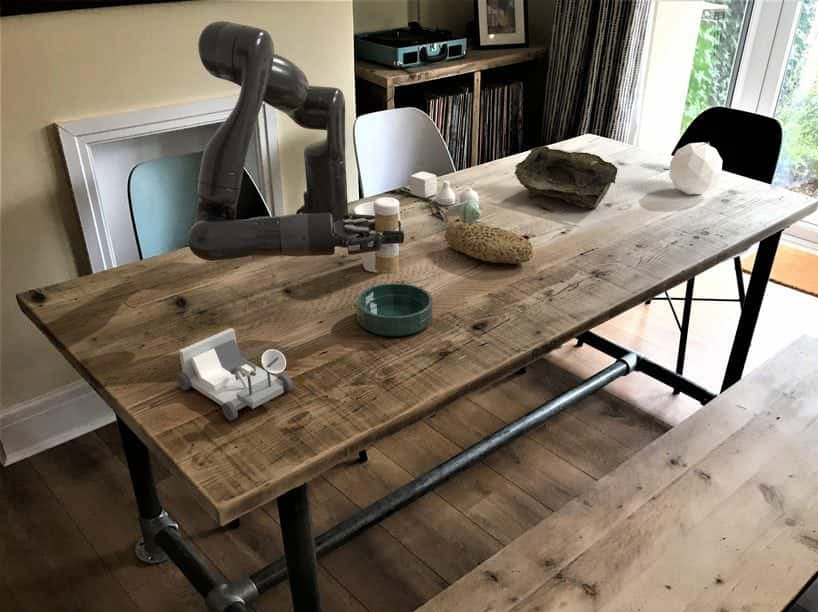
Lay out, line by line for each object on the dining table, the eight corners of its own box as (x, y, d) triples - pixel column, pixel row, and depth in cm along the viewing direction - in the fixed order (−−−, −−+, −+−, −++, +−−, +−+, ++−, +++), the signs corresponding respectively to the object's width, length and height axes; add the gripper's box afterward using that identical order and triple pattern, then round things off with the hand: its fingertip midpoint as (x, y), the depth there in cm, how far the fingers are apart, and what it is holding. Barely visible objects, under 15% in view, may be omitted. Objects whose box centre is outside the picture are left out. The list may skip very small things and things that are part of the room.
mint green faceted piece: (450, 225, 193) (451, 199, 189) (459, 220, 196) (460, 194, 192) (477, 233, 189) (478, 206, 185) (486, 228, 192) (488, 201, 188)
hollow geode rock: (610, 230, 205) (636, 181, 206) (596, 208, 194) (624, 156, 195) (522, 201, 219) (547, 155, 221) (505, 178, 208) (531, 130, 210)
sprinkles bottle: (369, 269, 147) (368, 200, 140) (387, 262, 150) (386, 194, 143) (387, 277, 144) (386, 207, 137) (404, 269, 147) (404, 201, 140)
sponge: (439, 255, 180) (494, 269, 165) (441, 220, 178) (497, 231, 163) (484, 252, 188) (541, 265, 173) (486, 219, 186) (543, 229, 171)
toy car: (299, 346, 123) (237, 376, 115) (304, 398, 128) (245, 430, 120) (229, 309, 132) (168, 334, 125) (236, 359, 137) (177, 386, 130)
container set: (410, 195, 210) (410, 175, 207) (422, 190, 213) (422, 170, 211) (470, 213, 200) (471, 192, 197) (482, 207, 203) (483, 187, 201)
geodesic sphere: (685, 156, 226) (680, 123, 215) (734, 166, 219) (731, 132, 208) (663, 198, 223) (657, 166, 211) (712, 209, 216) (708, 177, 204)
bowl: (345, 330, 147) (343, 309, 145) (376, 298, 159) (376, 278, 156) (415, 345, 143) (415, 323, 141) (442, 310, 155) (443, 290, 153)
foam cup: (406, 261, 174) (406, 205, 167) (389, 278, 166) (388, 220, 160) (367, 254, 177) (365, 199, 170) (349, 271, 169) (346, 213, 162)
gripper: (306, 230, 133) (407, 227, 136) (304, 200, 145) (397, 198, 148) (309, 271, 137) (407, 266, 140) (307, 238, 149) (397, 235, 152)
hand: (401, 231), depth 144 cm, fingers closed on sprinkles bottle, 4 cm apart
